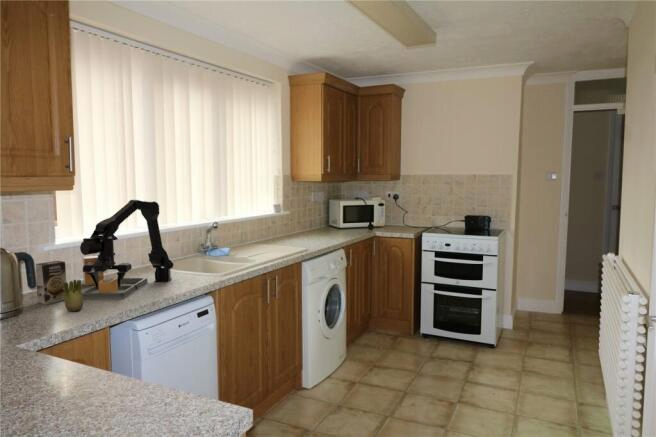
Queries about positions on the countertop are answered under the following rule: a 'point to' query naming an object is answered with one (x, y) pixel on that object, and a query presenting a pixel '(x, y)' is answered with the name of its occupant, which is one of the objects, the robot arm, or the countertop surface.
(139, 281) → the case
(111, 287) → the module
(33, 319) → the countertop surface
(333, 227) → the countertop surface
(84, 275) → the small box
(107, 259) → the robot arm
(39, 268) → the coffee box
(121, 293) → the case lid
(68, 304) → the fennel bulb
